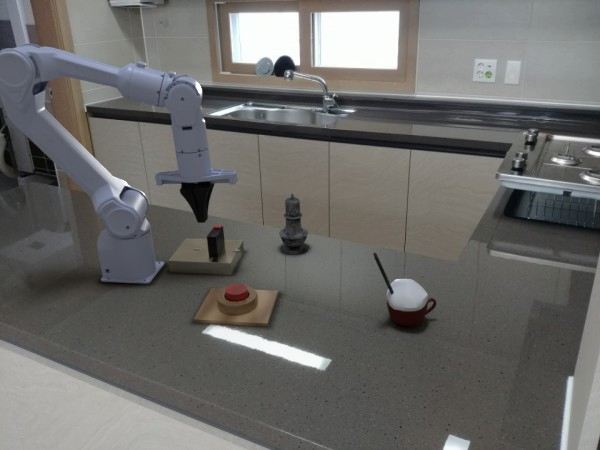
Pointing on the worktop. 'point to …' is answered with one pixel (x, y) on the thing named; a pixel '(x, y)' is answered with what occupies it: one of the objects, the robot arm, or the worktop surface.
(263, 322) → the button block
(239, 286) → the button
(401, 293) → the cocoa
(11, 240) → the worktop surface
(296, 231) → the salt shaker
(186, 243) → the panel
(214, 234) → the knob
